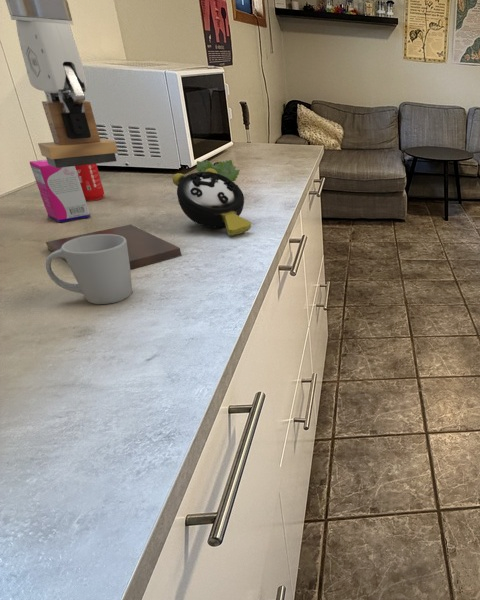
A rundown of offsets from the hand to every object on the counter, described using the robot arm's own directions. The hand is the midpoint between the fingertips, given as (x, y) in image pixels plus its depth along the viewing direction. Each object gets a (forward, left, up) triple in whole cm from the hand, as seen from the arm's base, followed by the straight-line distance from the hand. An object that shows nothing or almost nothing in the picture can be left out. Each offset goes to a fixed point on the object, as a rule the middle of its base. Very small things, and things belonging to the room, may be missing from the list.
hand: (75, 135), depth 81 cm
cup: (-11, -24, -19) cm, 32 cm away
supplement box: (+1, +18, -19) cm, 26 cm away
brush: (0, 0, -5) cm, 5 cm away
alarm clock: (+19, -7, -19) cm, 28 cm away
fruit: (+30, +11, -19) cm, 38 cm away
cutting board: (-2, -8, -19) cm, 20 cm away
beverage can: (+9, +29, -19) cm, 36 cm away
